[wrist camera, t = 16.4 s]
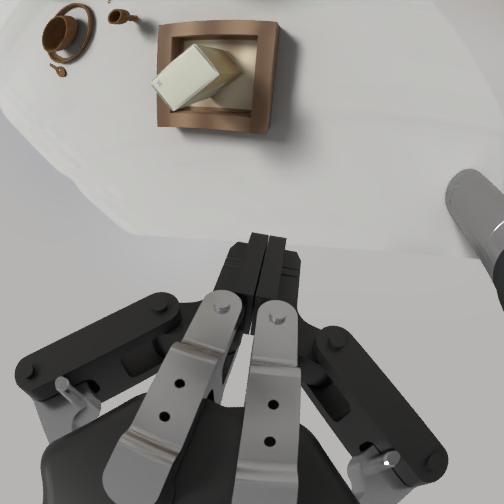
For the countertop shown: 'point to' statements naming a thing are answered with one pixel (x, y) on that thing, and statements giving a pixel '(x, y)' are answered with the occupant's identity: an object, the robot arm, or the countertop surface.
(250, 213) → the countertop surface
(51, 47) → the place setting
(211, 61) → the skincare box
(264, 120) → the socket block
